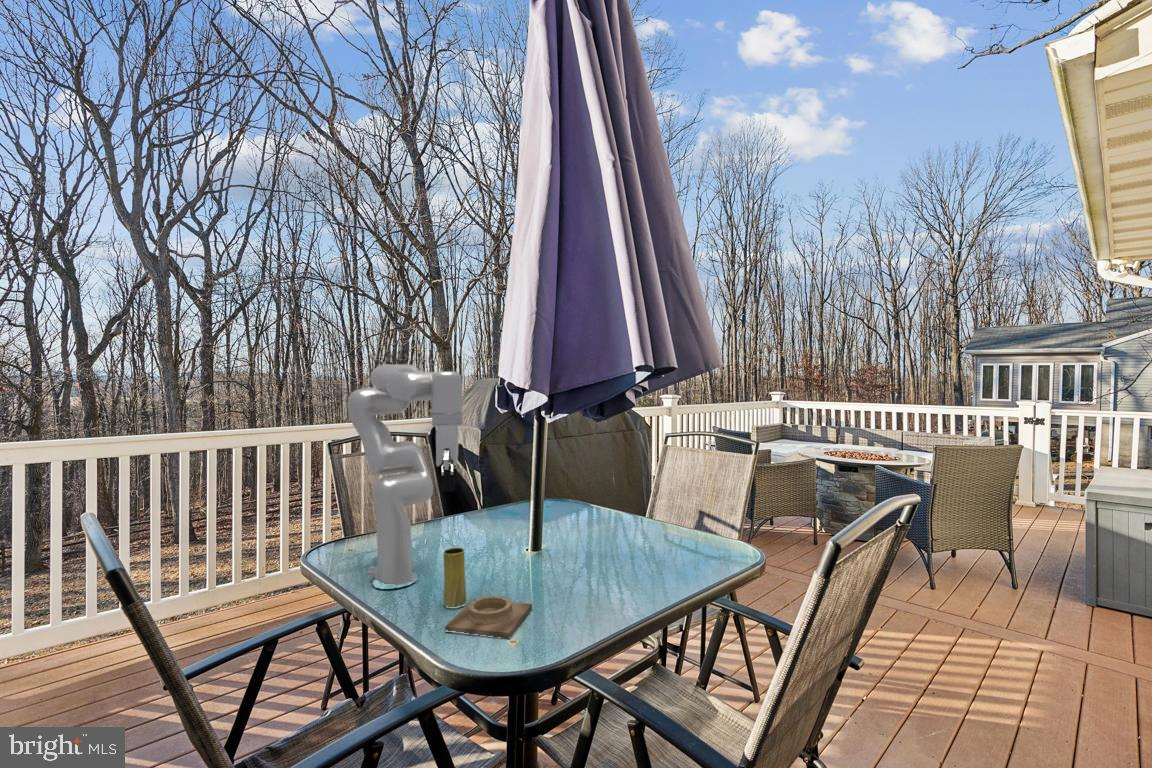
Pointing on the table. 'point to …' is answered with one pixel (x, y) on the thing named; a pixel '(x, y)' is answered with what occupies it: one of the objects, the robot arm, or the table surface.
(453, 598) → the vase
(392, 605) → the table surface
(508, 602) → the stand
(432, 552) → the table surface
